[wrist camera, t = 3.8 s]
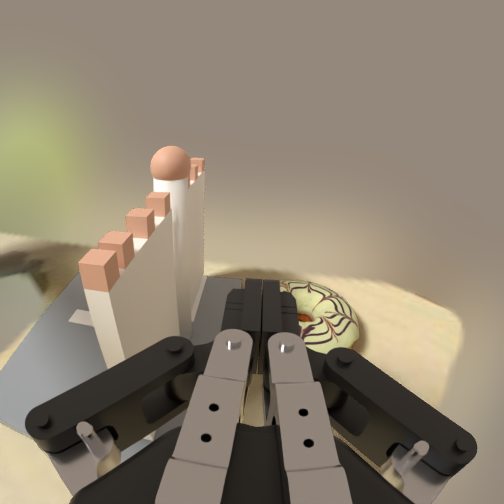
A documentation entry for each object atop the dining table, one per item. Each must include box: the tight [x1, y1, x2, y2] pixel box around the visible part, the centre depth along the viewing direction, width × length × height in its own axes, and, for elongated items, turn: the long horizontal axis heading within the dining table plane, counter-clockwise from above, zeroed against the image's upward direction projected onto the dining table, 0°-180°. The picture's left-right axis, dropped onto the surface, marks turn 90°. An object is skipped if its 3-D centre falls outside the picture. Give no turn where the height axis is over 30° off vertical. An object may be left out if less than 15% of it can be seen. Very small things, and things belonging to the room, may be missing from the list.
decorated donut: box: [261, 280, 359, 354], centre depth 28 cm, size 10×11×4 cm
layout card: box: [0, 272, 242, 464], centre depth 25 cm, size 20×24×1 cm
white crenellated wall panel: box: [78, 192, 180, 441], centre depth 18 cm, size 10×1×13 cm, turn 178°
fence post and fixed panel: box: [150, 146, 205, 339], centre depth 27 cm, size 3×11×16 cm, turn 178°
